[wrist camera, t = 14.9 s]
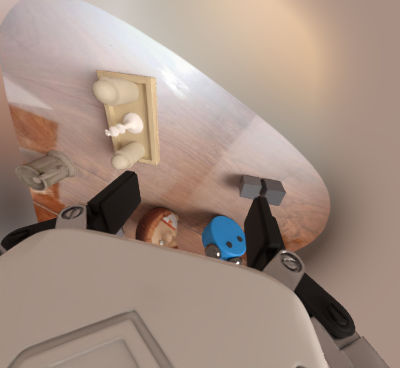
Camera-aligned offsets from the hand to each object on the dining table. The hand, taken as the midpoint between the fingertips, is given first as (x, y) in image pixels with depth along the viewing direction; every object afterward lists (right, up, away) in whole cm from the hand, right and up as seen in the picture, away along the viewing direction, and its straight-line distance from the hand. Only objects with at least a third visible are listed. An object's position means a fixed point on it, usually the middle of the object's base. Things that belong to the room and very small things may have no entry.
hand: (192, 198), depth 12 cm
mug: (-44, +8, +39) cm, 59 cm away
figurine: (-12, -11, +45) cm, 48 cm away
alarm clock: (+9, -12, +41) cm, 44 cm away
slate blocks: (+17, +1, +30) cm, 35 cm away
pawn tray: (-16, +17, +27) cm, 35 cm away
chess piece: (-16, +16, +26) cm, 35 cm away
